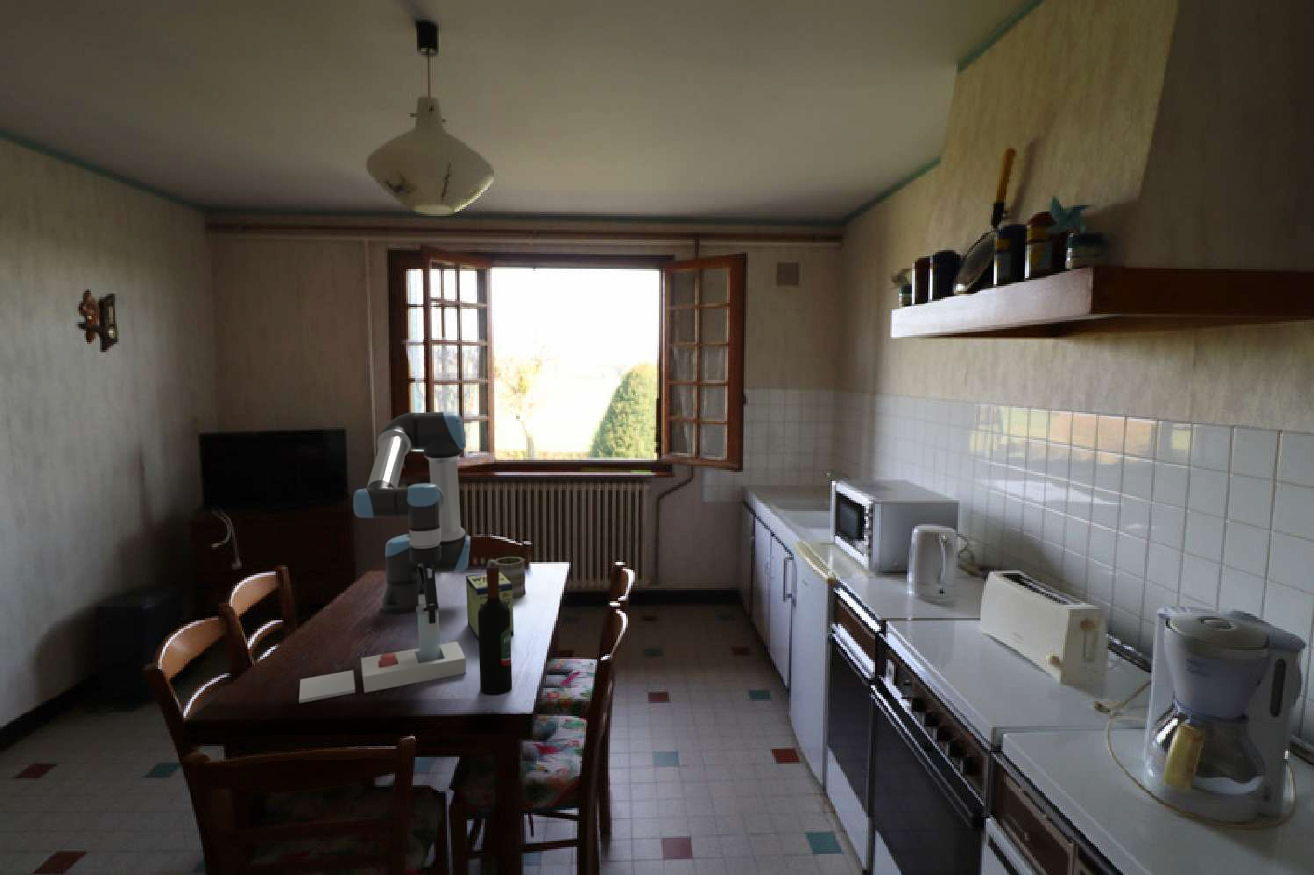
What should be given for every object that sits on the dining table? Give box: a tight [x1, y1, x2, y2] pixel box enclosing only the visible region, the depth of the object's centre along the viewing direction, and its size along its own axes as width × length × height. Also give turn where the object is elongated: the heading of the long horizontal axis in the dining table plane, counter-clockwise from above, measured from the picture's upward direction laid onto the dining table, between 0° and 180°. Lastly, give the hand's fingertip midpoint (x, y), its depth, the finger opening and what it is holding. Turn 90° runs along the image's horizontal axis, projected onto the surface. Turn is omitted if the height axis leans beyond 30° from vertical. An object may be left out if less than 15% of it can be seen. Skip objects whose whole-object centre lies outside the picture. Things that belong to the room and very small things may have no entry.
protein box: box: [465, 572, 515, 642], centre depth 206 cm, size 10×16×16 cm
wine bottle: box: [478, 565, 513, 696], centre depth 167 cm, size 8×8×30 cm
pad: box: [298, 669, 356, 704], centre depth 169 cm, size 12×12×1 cm
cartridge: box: [415, 603, 440, 663], centre depth 178 cm, size 6×6×17 cm
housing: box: [360, 641, 467, 693], centre depth 177 cm, size 12×24×4 cm, turn 116°
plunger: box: [380, 652, 396, 667], centre depth 174 cm, size 4×4×4 cm
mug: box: [486, 556, 527, 600], centre depth 240 cm, size 16×11×12 cm
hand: (428, 626), depth 178 cm, fingers open, 13 cm apart
